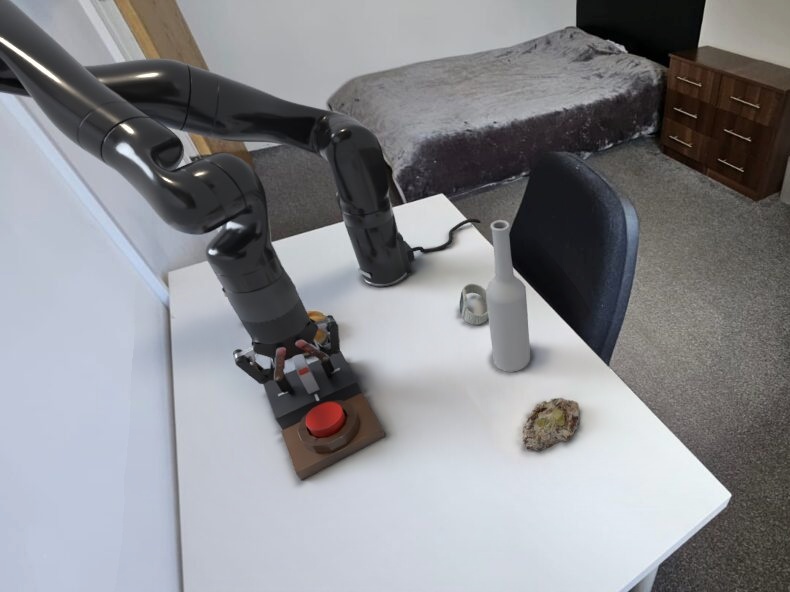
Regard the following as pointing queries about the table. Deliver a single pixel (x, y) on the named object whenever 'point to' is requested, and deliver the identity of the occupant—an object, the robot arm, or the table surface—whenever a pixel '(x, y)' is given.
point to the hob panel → (300, 402)
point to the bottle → (507, 307)
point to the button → (325, 419)
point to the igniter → (332, 438)
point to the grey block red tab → (305, 373)
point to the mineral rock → (551, 423)
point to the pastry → (320, 335)
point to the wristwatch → (463, 304)
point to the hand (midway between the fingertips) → (309, 381)
